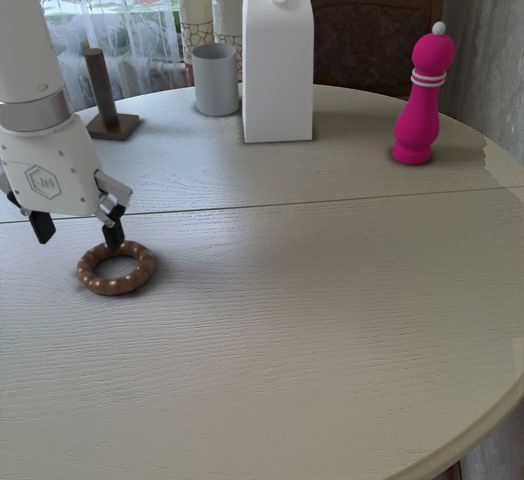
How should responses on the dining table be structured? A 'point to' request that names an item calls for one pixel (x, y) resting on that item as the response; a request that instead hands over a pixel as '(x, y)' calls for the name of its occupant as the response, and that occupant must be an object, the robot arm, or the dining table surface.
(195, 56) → the cup
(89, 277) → the ring
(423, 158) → the pepper mill
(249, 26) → the milk
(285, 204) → the dining table surface
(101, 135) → the brown post
